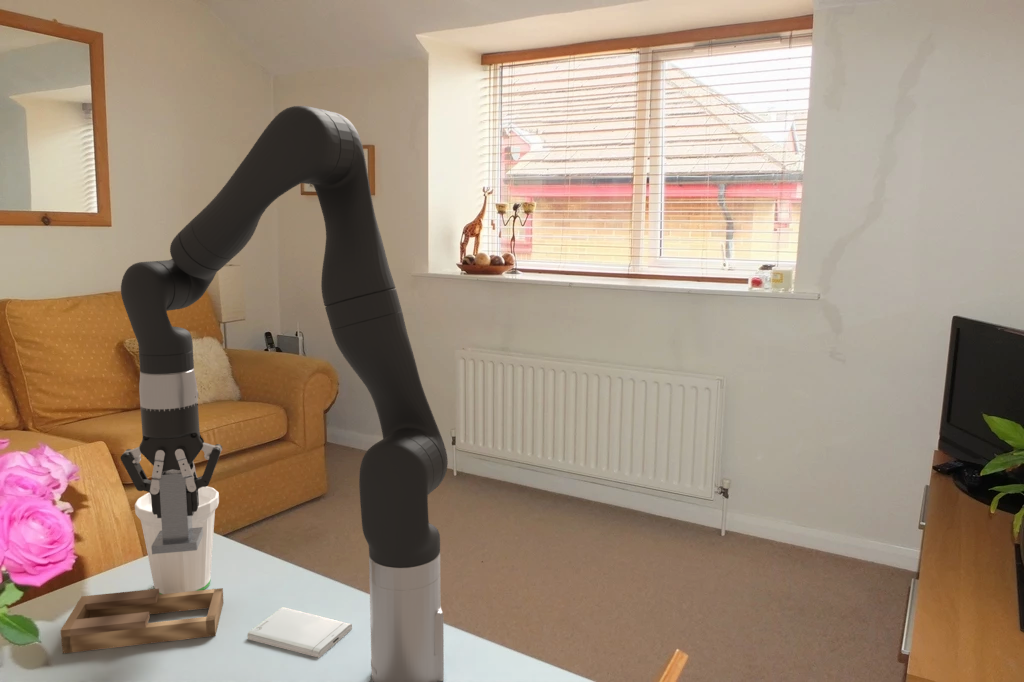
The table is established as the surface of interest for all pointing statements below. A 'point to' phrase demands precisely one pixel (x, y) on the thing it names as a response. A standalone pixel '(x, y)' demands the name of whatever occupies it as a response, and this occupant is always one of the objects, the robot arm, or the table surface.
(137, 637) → the rail
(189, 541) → the t peg
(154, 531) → the cup
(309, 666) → the table surface
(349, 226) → the robot arm
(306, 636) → the hard drive
